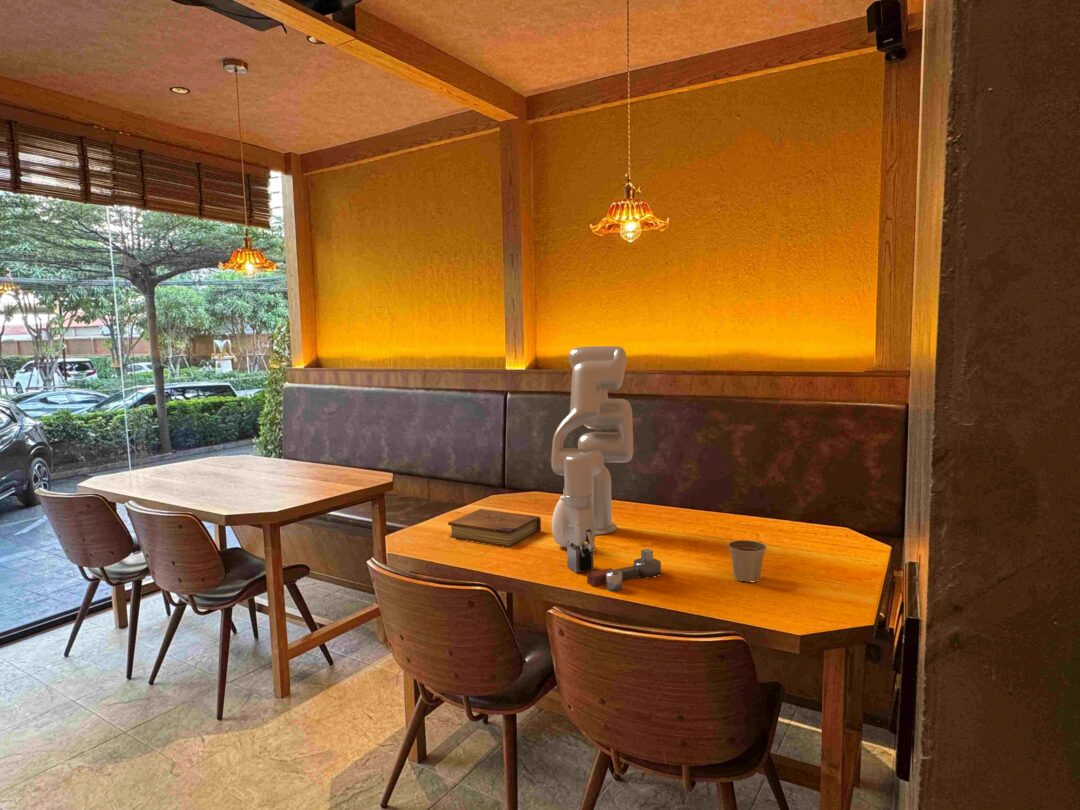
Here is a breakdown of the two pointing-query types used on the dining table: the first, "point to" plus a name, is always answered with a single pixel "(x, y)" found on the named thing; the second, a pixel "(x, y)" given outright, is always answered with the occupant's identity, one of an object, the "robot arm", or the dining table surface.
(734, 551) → the flower pot
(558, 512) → the white air blower bulb
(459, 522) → the diary
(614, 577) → the socket
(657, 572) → the ratchet
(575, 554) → the socket
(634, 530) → the dining table surface
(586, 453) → the robot arm
